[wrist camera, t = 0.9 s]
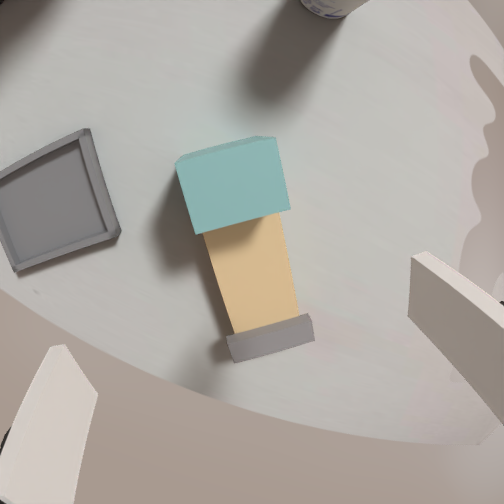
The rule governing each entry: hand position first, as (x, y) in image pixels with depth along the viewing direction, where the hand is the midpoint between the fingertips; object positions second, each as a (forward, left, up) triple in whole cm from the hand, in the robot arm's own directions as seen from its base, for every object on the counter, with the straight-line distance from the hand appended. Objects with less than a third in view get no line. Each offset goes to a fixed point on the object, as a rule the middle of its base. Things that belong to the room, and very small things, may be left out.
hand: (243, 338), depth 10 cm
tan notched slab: (+6, +1, -17) cm, 18 cm away
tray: (-6, -15, -17) cm, 23 cm away
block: (-3, +1, -17) cm, 17 cm away
